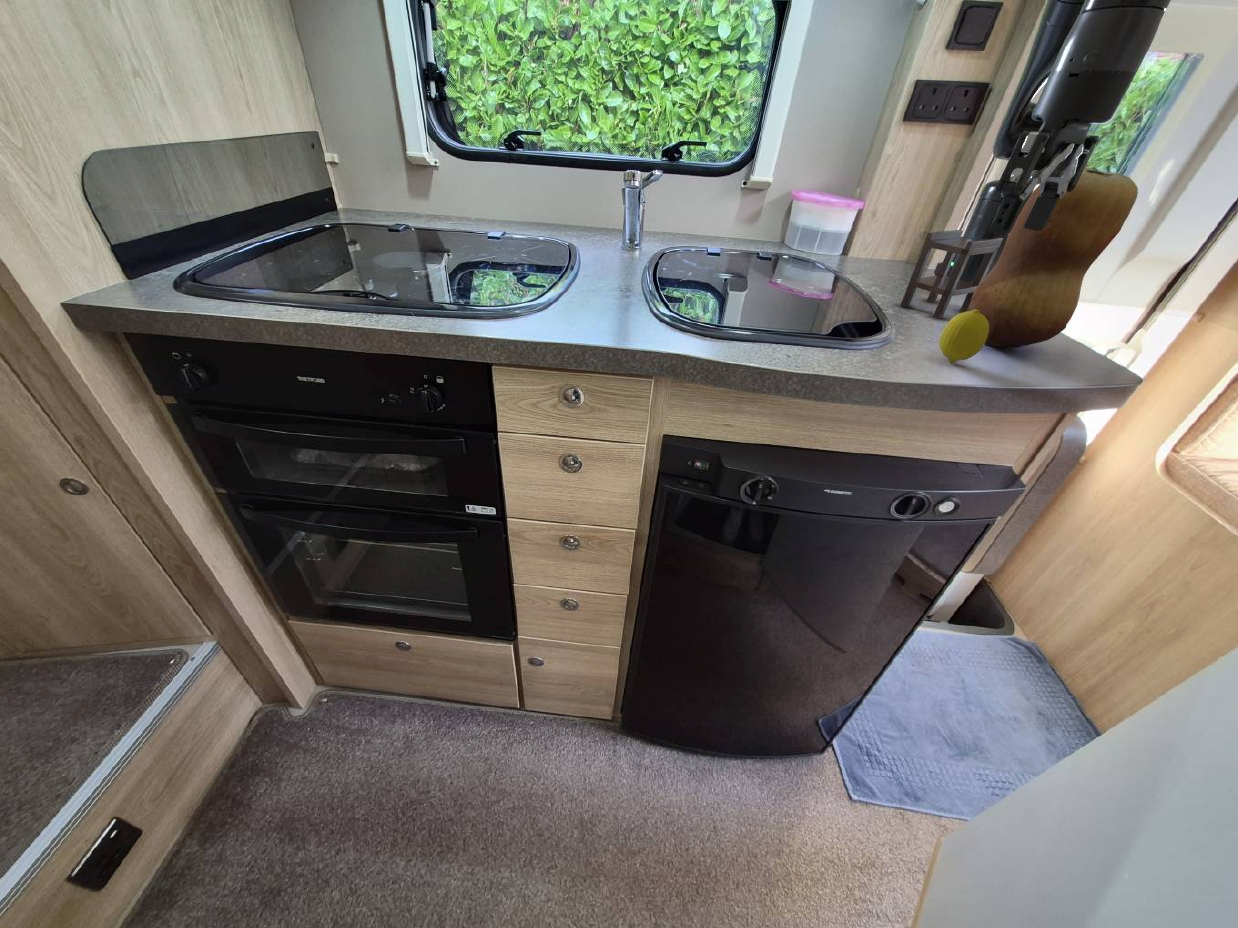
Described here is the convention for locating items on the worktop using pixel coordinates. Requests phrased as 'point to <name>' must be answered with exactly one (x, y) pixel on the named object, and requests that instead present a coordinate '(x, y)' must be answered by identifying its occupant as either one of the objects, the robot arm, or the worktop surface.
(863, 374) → the worktop surface
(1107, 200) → the butternut squash
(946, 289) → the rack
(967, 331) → the lemon
